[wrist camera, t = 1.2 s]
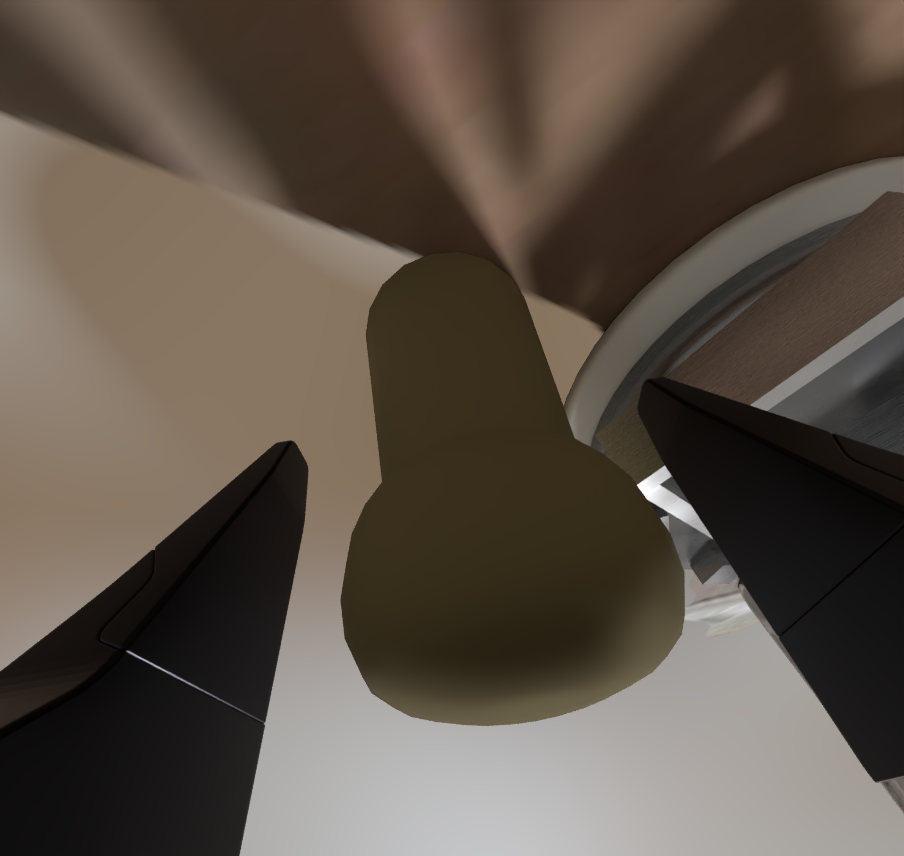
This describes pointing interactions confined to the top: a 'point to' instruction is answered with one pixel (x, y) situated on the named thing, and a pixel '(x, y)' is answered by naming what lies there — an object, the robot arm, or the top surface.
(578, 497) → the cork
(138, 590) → the robot arm
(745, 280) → the grey tabbed disc
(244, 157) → the top surface
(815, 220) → the base plate
